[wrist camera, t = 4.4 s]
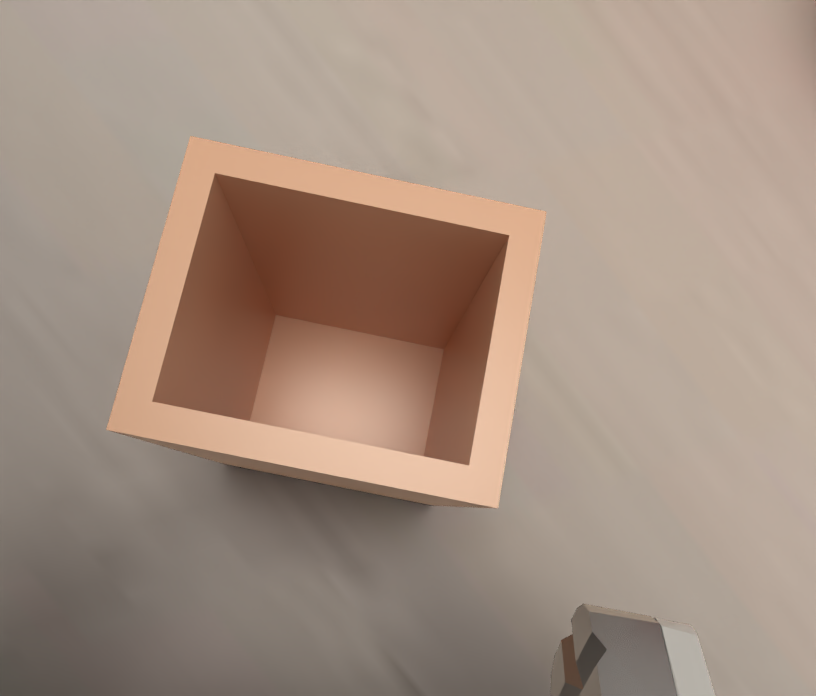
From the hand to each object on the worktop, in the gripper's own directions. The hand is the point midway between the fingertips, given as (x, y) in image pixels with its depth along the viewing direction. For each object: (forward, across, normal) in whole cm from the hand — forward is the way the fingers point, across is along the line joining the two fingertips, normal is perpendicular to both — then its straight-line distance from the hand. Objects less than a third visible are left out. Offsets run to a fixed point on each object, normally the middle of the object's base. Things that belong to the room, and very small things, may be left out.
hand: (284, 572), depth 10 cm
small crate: (+9, 0, +4) cm, 9 cm away
